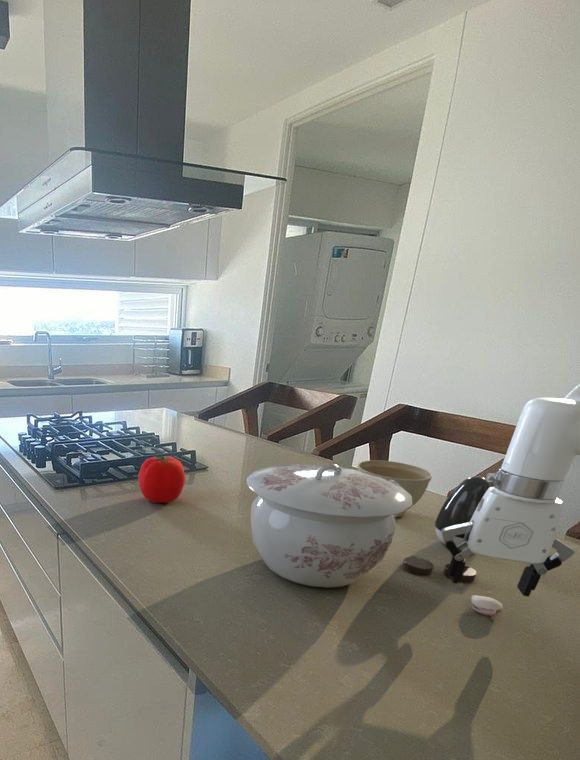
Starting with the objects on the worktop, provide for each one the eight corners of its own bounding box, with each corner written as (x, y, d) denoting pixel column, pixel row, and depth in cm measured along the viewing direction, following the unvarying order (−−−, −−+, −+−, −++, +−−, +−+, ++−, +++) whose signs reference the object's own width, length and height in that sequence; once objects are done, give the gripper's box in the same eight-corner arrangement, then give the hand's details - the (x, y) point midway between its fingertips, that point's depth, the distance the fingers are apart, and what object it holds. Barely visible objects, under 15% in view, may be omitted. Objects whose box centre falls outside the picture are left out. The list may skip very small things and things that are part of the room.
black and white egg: (493, 559, 98) (520, 487, 92) (435, 551, 101) (457, 481, 95) (478, 539, 107) (501, 472, 100) (425, 532, 110) (444, 467, 103)
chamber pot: (223, 588, 85) (236, 475, 77) (248, 531, 109) (260, 439, 100) (400, 624, 76) (437, 500, 68) (386, 553, 100) (412, 454, 91)
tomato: (127, 501, 125) (128, 457, 120) (155, 488, 135) (156, 447, 130) (168, 511, 118) (170, 466, 114) (194, 497, 129) (197, 454, 124)
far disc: (429, 566, 95) (431, 559, 94) (433, 577, 90) (435, 570, 90) (400, 561, 96) (402, 554, 96) (403, 572, 92) (405, 565, 91)
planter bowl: (394, 528, 112) (406, 483, 107) (335, 506, 124) (344, 465, 120) (434, 516, 119) (446, 473, 115) (374, 496, 132) (384, 457, 127)
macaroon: (479, 618, 78) (484, 605, 77) (459, 602, 83) (463, 589, 82) (505, 618, 78) (510, 605, 77) (483, 601, 83) (488, 589, 82)
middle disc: (470, 572, 92) (472, 565, 92) (477, 585, 88) (479, 577, 88) (440, 568, 94) (442, 561, 93) (445, 579, 90) (448, 572, 89)
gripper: (466, 484, 71) (431, 585, 78) (612, 502, 66) (561, 609, 73) (454, 470, 77) (423, 565, 85) (587, 486, 72) (542, 586, 79)
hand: (487, 585), depth 79 cm, fingers open, 9 cm apart
